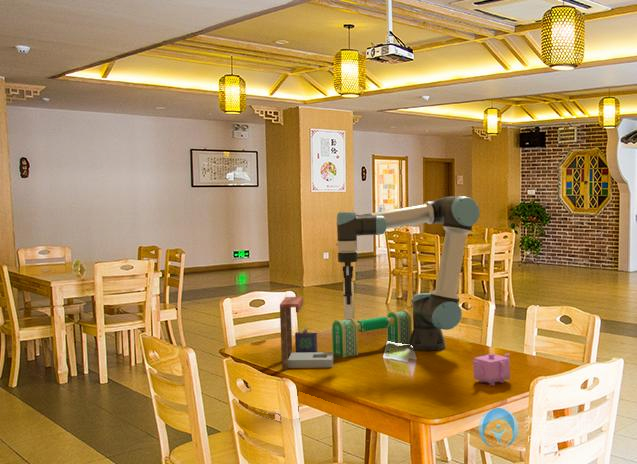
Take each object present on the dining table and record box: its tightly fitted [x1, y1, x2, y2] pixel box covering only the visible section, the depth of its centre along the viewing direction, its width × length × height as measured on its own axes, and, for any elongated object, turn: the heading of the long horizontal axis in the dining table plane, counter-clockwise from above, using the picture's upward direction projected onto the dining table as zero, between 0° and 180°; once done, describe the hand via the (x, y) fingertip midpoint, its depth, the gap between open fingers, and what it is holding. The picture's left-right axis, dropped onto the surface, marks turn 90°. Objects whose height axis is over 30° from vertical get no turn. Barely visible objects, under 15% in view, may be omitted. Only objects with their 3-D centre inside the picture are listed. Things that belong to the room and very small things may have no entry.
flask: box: [294, 327, 319, 353], centre depth 282 cm, size 9×3×11 cm, turn 88°
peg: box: [342, 281, 355, 320], centre depth 261 cm, size 4×4×14 cm
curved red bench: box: [279, 296, 304, 371], centre depth 265 cm, size 7×18×25 cm, turn 176°
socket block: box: [288, 351, 335, 369], centre depth 265 cm, size 17×12×3 cm
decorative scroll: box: [331, 309, 413, 358], centre depth 286 cm, size 36×8×15 cm, turn 122°
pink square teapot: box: [472, 353, 511, 386], centre depth 233 cm, size 18×13×10 cm
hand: (349, 311), depth 262 cm, fingers closed on peg, 4 cm apart
